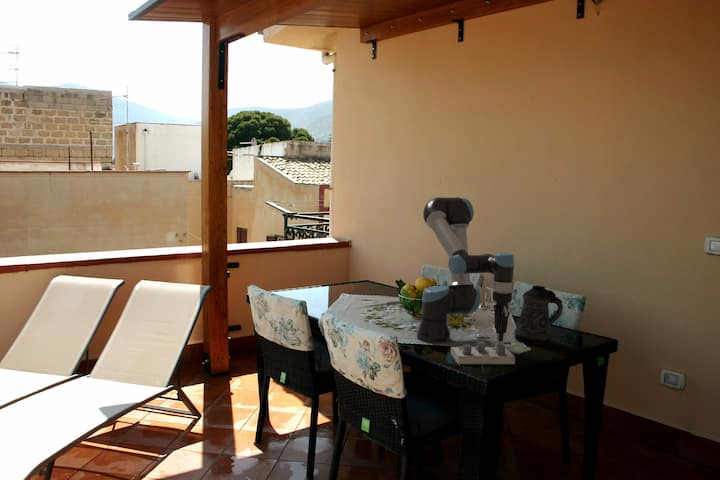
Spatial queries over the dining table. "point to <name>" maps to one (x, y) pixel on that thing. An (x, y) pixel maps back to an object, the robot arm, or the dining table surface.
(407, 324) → the dining table surface
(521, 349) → the handheld gaming console
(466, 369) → the dining table surface
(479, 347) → the switch tab
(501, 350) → the switch tab
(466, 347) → the switch tab
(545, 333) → the beer stein
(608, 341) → the dining table surface
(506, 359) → the switch bank
